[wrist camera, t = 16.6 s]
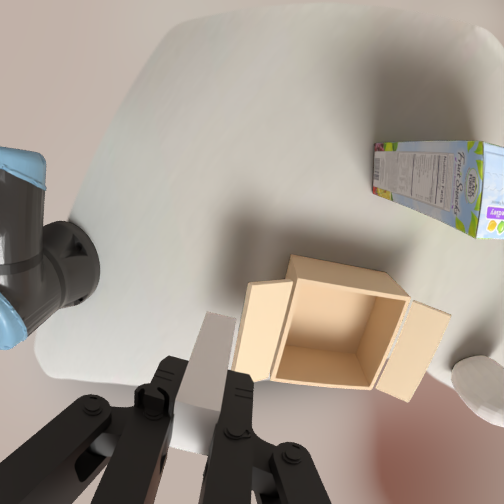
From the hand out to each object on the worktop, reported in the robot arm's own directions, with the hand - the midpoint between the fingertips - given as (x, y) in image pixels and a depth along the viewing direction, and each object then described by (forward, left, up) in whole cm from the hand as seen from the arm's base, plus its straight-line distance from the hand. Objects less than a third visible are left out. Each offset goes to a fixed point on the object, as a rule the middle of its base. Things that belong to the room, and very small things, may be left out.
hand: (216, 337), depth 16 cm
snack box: (+27, +13, -32) cm, 44 cm away
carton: (+15, -12, -32) cm, 37 cm away
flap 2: (+26, -12, -20) cm, 35 cm away
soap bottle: (+52, -20, -32) cm, 64 cm away
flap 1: (+4, -12, -20) cm, 23 cm away
